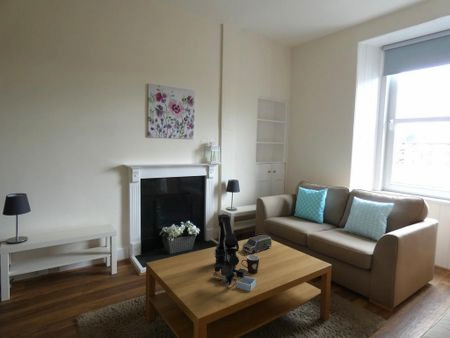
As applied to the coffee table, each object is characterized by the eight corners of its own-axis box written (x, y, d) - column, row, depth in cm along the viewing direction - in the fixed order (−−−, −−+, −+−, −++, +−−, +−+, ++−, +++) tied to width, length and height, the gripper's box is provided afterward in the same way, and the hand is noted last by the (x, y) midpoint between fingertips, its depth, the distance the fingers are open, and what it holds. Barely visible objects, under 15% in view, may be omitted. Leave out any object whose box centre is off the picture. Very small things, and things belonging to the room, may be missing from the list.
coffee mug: (260, 269, 187) (260, 255, 186) (258, 275, 179) (258, 260, 178) (243, 267, 190) (243, 253, 189) (240, 273, 182) (241, 258, 181)
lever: (206, 282, 166) (206, 278, 166) (216, 273, 178) (216, 269, 177) (230, 289, 159) (230, 284, 159) (239, 279, 170) (239, 274, 170)
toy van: (272, 248, 227) (272, 236, 226) (250, 255, 212) (250, 243, 211) (263, 244, 235) (263, 233, 234) (241, 251, 220) (241, 239, 219)
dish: (236, 287, 164) (236, 281, 164) (242, 280, 172) (242, 275, 171) (250, 291, 160) (250, 285, 159) (256, 284, 168) (256, 278, 167)
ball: (214, 274, 173) (215, 269, 173) (217, 272, 176) (217, 267, 176) (219, 275, 172) (219, 271, 172) (221, 273, 175) (222, 269, 174)
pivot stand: (221, 283, 169) (221, 275, 168) (227, 277, 176) (227, 269, 176) (225, 284, 167) (226, 276, 167) (231, 278, 175) (231, 270, 174)
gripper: (209, 260, 157) (209, 286, 159) (239, 267, 149) (238, 294, 150) (218, 253, 167) (218, 278, 169) (247, 259, 159) (246, 285, 160)
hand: (230, 284), depth 162 cm, fingers closed, pressing on lever
